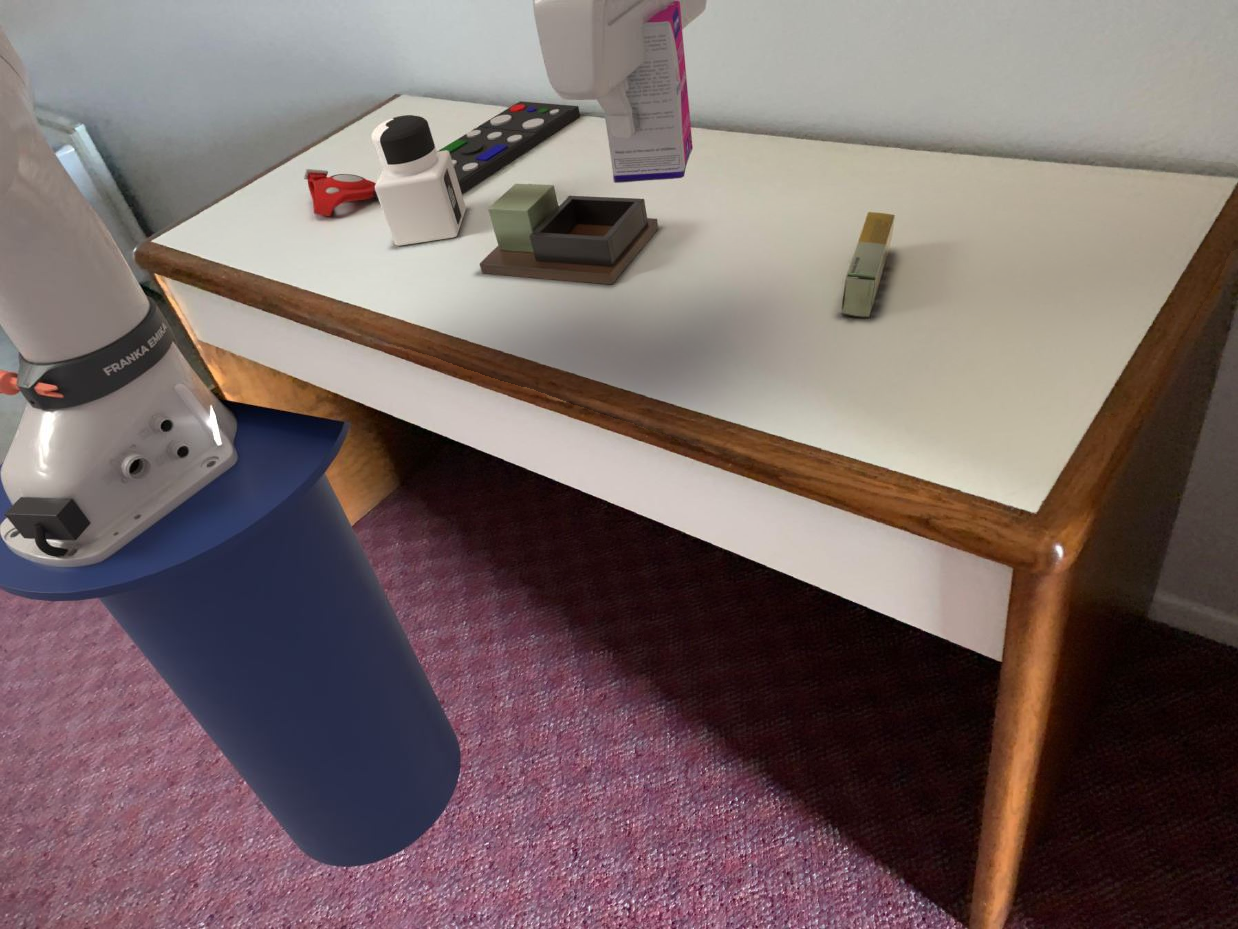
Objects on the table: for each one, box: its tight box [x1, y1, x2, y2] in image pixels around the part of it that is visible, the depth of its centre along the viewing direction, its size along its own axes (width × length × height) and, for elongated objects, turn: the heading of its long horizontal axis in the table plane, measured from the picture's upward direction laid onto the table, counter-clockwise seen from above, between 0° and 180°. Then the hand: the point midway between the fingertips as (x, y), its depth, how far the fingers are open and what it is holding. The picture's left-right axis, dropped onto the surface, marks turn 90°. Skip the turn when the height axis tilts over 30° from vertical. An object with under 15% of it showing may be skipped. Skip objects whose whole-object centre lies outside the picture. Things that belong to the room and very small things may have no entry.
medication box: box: [840, 211, 896, 319], centre depth 85 cm, size 12×3×4 cm, turn 160°
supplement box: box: [603, 1, 693, 184], centre depth 70 cm, size 6×6×12 cm
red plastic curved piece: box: [303, 168, 377, 217], centre depth 123 cm, size 12×4×10 cm
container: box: [370, 114, 467, 247], centre depth 108 cm, size 8×8×13 cm
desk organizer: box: [479, 183, 659, 285], centre depth 100 cm, size 12×16×6 cm
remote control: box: [373, 100, 581, 202], centre depth 127 cm, size 11×30×2 cm, turn 144°
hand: (647, 114), depth 71 cm, fingers closed on supplement box, 6 cm apart
